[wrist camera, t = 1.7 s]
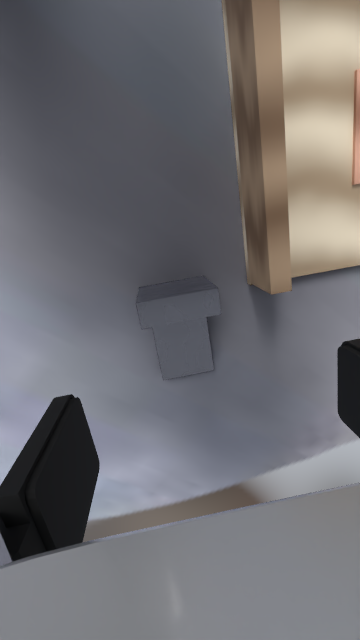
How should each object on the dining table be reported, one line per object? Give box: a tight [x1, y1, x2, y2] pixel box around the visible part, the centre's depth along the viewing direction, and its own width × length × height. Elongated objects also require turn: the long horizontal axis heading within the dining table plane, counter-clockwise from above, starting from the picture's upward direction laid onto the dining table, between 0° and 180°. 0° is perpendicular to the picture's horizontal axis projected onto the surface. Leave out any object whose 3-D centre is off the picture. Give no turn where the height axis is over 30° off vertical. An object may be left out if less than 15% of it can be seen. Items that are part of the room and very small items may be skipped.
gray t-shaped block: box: [136, 276, 221, 380], centre depth 25 cm, size 9×6×6 cm, turn 9°
